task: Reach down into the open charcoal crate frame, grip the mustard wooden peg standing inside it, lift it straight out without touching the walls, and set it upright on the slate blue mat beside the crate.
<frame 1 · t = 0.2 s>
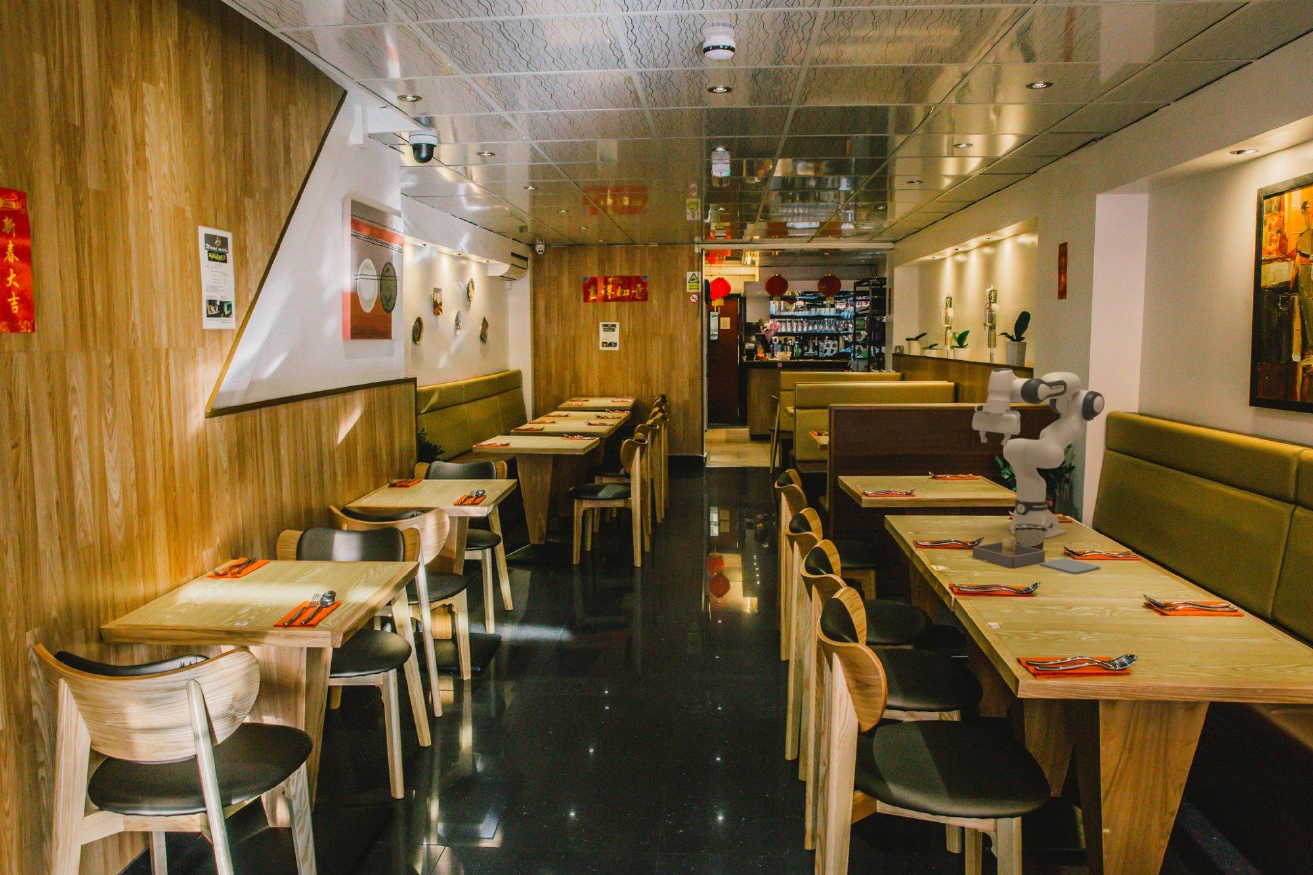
hand: (993, 443, 349), 39 cm above the table, tool pointing down, fingers open, 8 cm apart
mat: (1069, 567, 313), on the table
peg: (1008, 549, 323), in the crate
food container: (1027, 550, 338), on the table
crate: (1008, 559, 324), on the table
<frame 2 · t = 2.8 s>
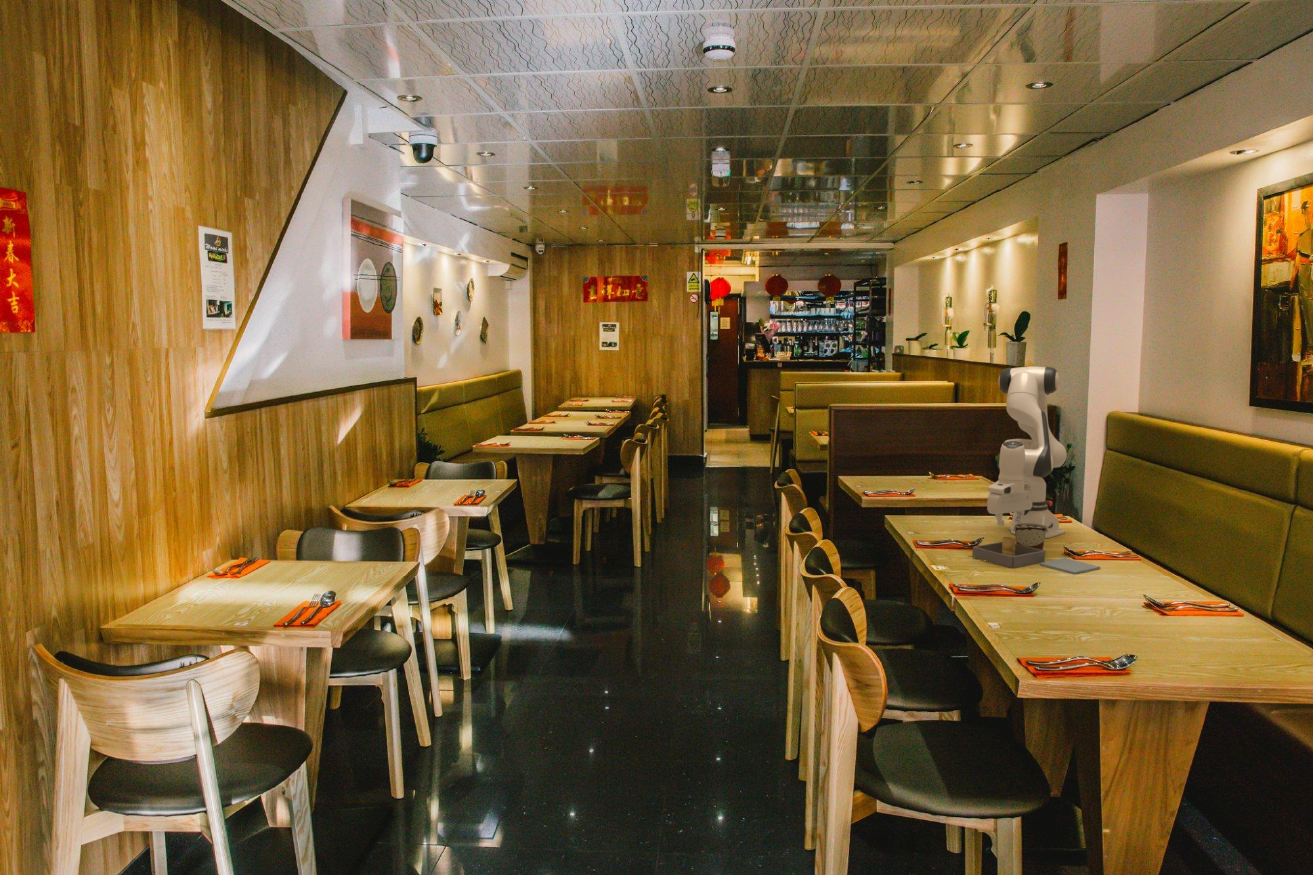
hand: (1009, 523, 322), 13 cm above the table, tool pointing down, fingers open, 8 cm apart
nothing on the table moved.
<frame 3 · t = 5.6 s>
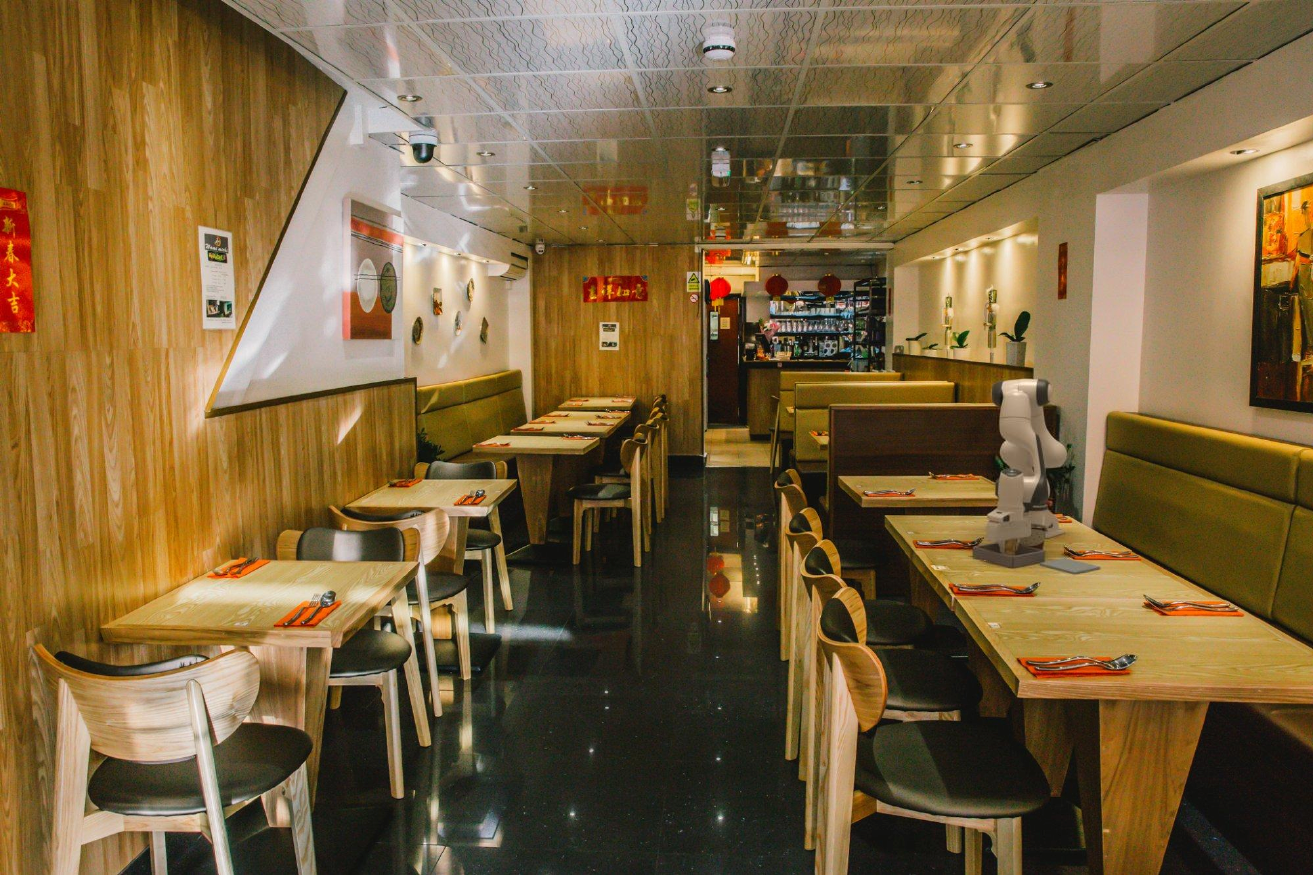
hand: (1008, 551, 323), 3 cm above the table, tool pointing down, fingers closed on peg, 4 cm apart
peg: (1008, 548, 323), in the crate, touching gripper
everything else where it was.
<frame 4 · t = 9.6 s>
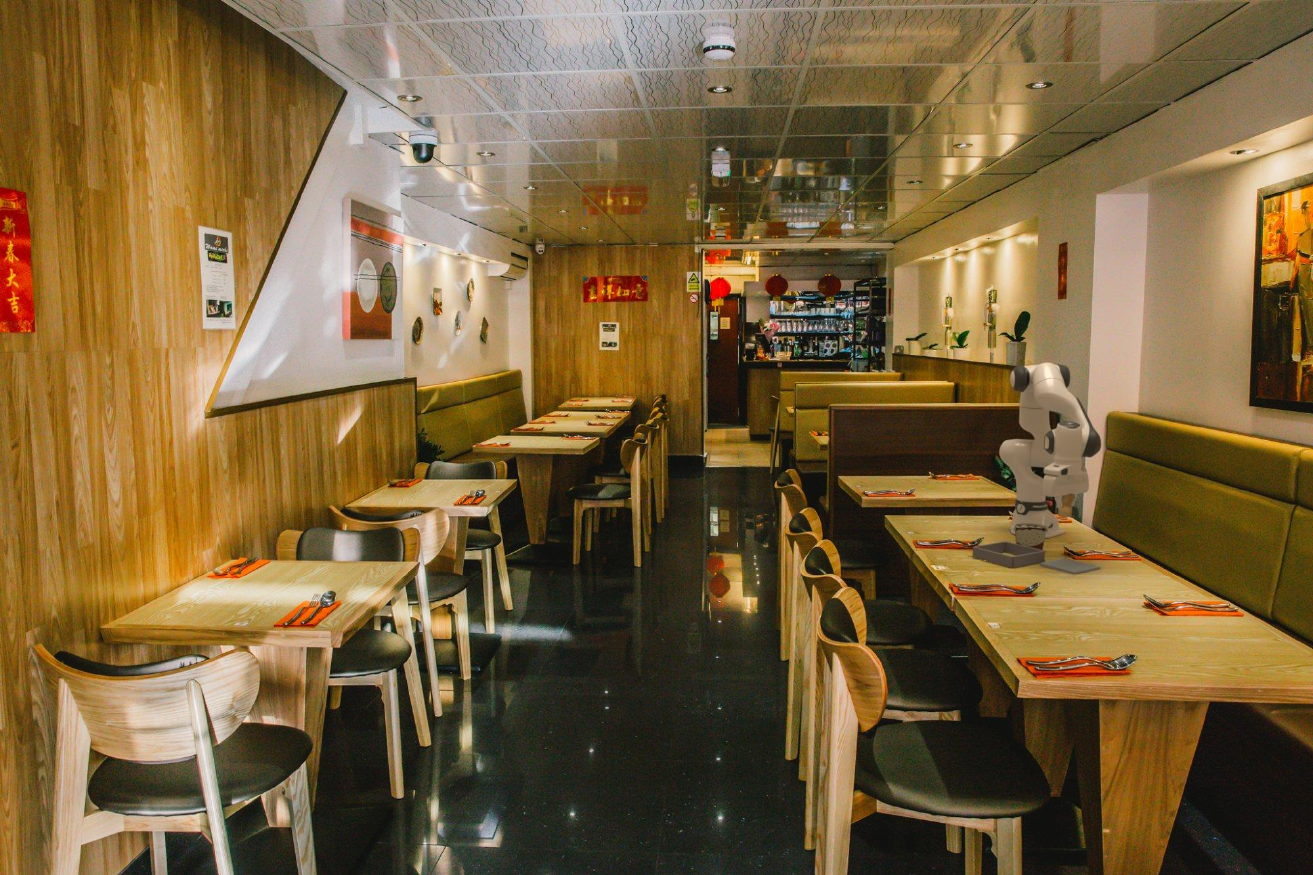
hand: (1065, 507, 311), 21 cm above the table, tool pointing down, fingers closed on peg, 4 cm apart
peg: (1065, 504, 311), point 22 cm above the table, touching gripper
everything else where it was.
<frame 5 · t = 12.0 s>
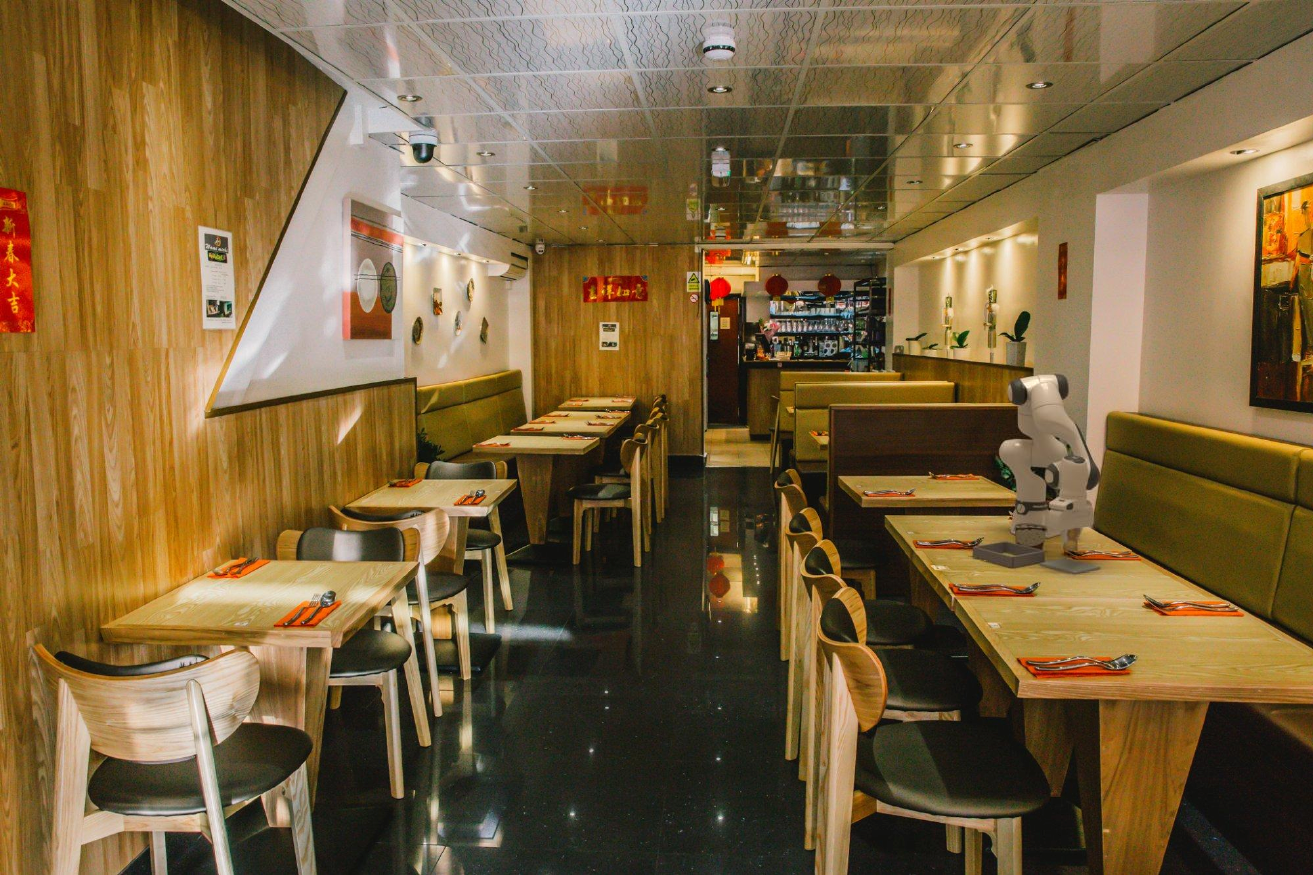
hand: (1070, 541, 312), 9 cm above the table, tool pointing down, fingers closed on peg, 4 cm apart
peg: (1070, 538, 312), point 10 cm above the table, touching gripper
everything else where it was.
when the fingers open (5 cm above the table, at t = 13.7 s): peg drops 1 cm, resting on mat.
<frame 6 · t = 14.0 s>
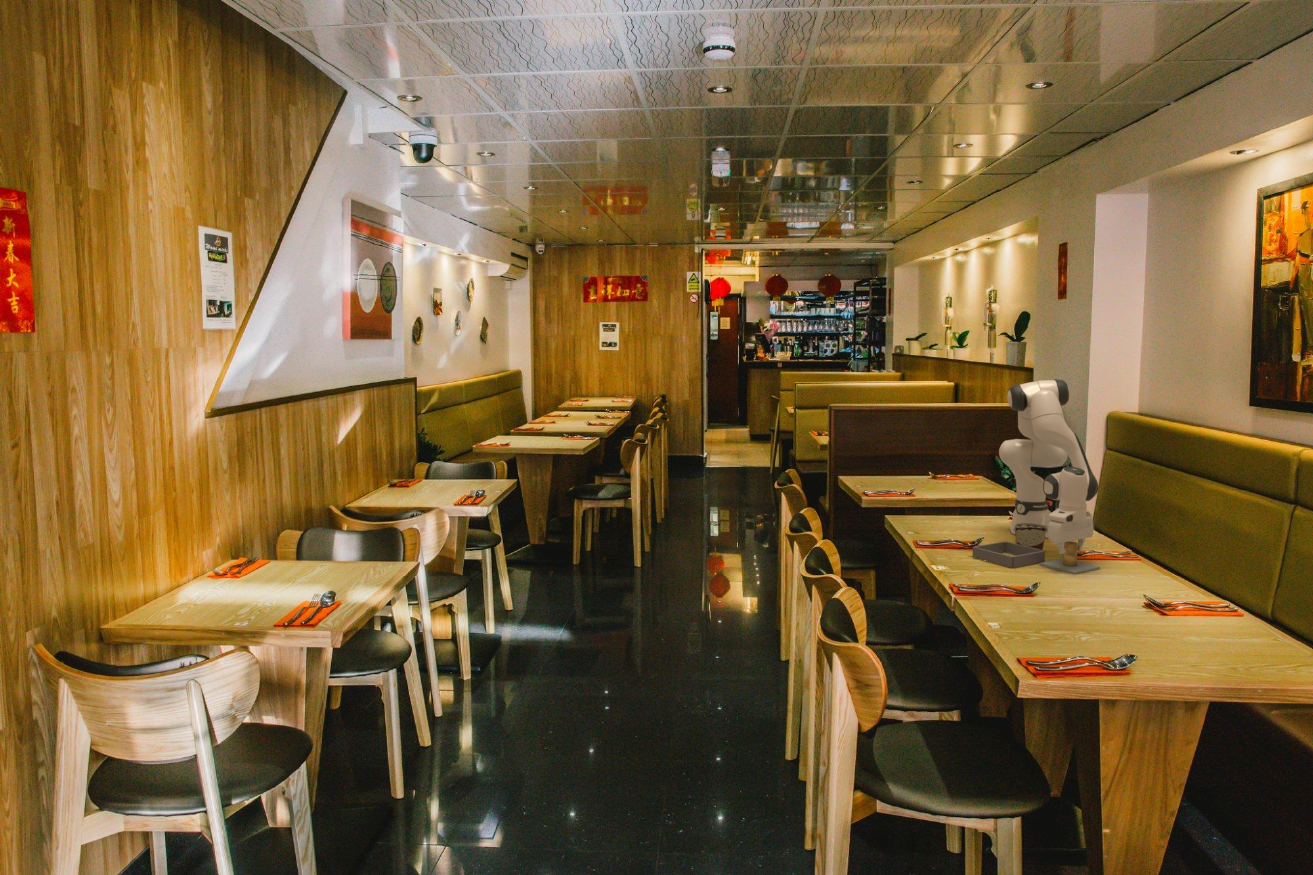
hand: (1070, 552, 312), 5 cm above the table, tool pointing down, fingers open, 8 cm apart
peg: (1070, 553, 312), on the mat, point 5 cm above the table
everything else where it was.
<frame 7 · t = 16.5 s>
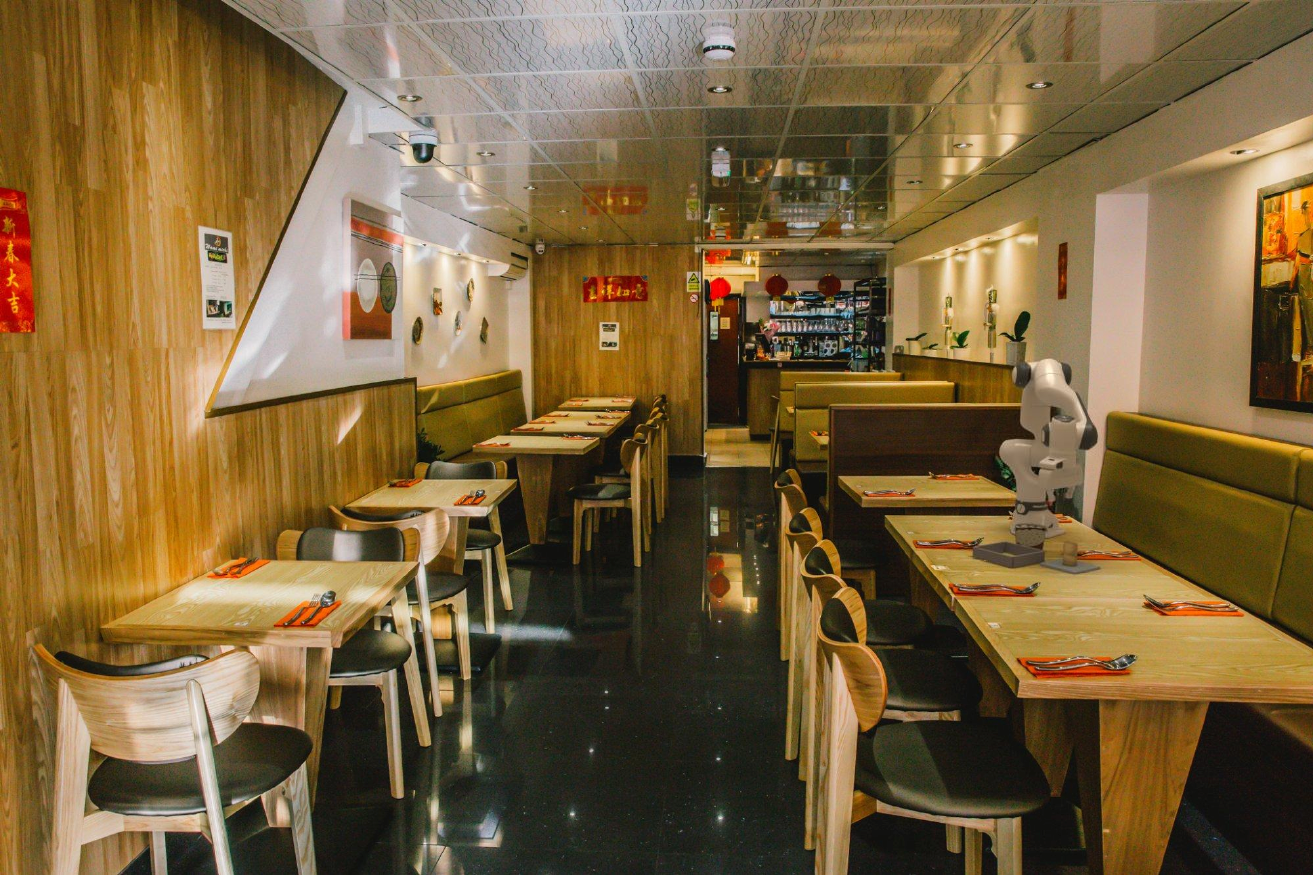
hand: (1060, 499, 315), 23 cm above the table, tool pointing down, fingers open, 8 cm apart
nothing on the table moved.
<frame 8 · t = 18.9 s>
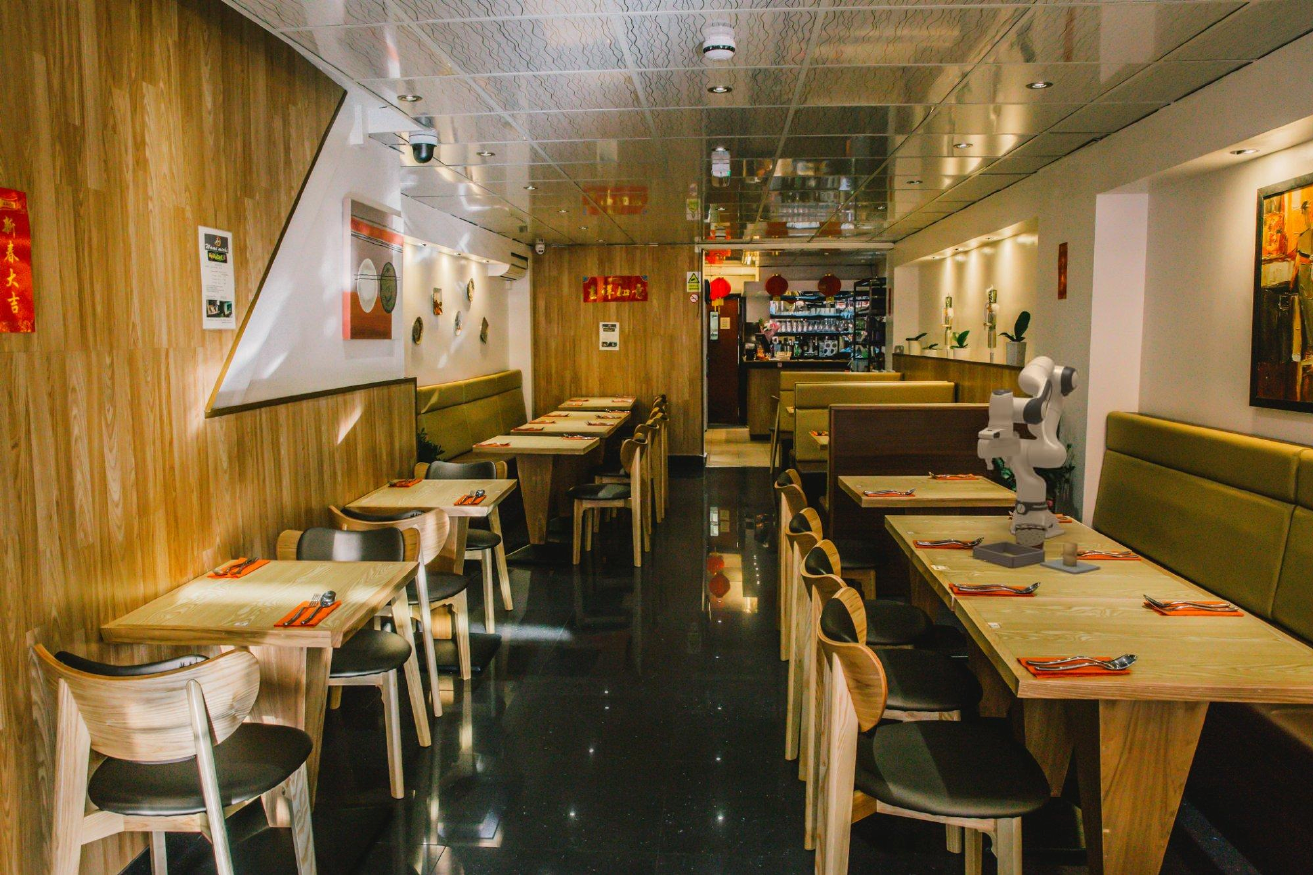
hand: (998, 468, 337), 31 cm above the table, tool pointing down, fingers open, 8 cm apart
nothing on the table moved.
at the end: peg inside the target area on the mat (0.1 cm from its centre), point 4.8 cm above the mat's base; peg tilted 0°; peg touching mat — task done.
